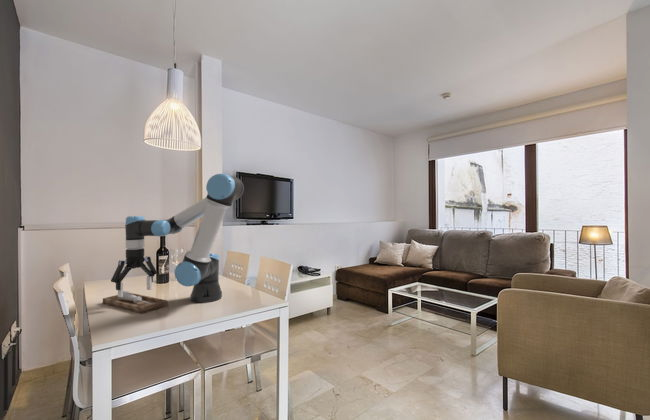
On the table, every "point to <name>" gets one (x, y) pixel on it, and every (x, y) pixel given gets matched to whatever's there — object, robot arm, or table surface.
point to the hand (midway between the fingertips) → (135, 293)
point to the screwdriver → (131, 297)
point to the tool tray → (136, 307)
